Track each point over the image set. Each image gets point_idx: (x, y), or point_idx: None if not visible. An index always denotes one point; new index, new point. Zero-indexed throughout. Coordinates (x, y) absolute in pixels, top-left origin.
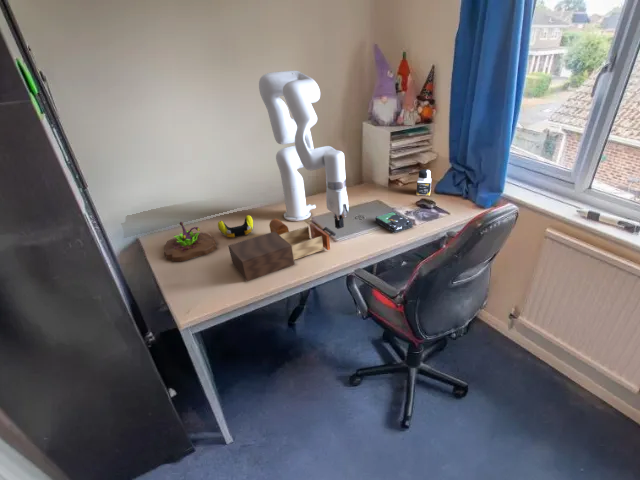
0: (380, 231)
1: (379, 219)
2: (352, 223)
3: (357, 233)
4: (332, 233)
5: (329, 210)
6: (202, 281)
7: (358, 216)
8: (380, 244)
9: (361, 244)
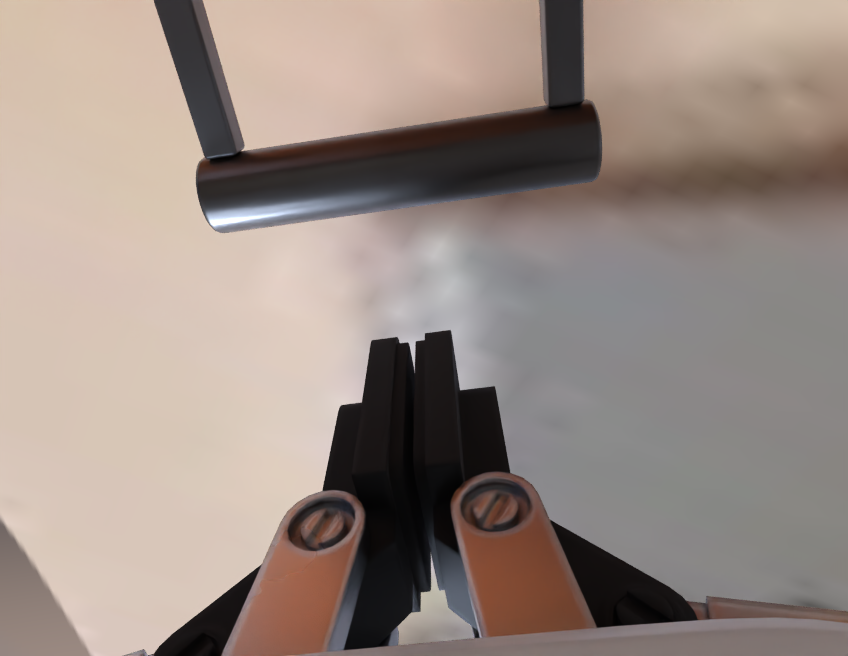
0: None
1: None
2: (729, 545)
3: None
4: (218, 171)
5: (654, 642)
6: None
7: None
8: (115, 565)
9: (176, 432)
